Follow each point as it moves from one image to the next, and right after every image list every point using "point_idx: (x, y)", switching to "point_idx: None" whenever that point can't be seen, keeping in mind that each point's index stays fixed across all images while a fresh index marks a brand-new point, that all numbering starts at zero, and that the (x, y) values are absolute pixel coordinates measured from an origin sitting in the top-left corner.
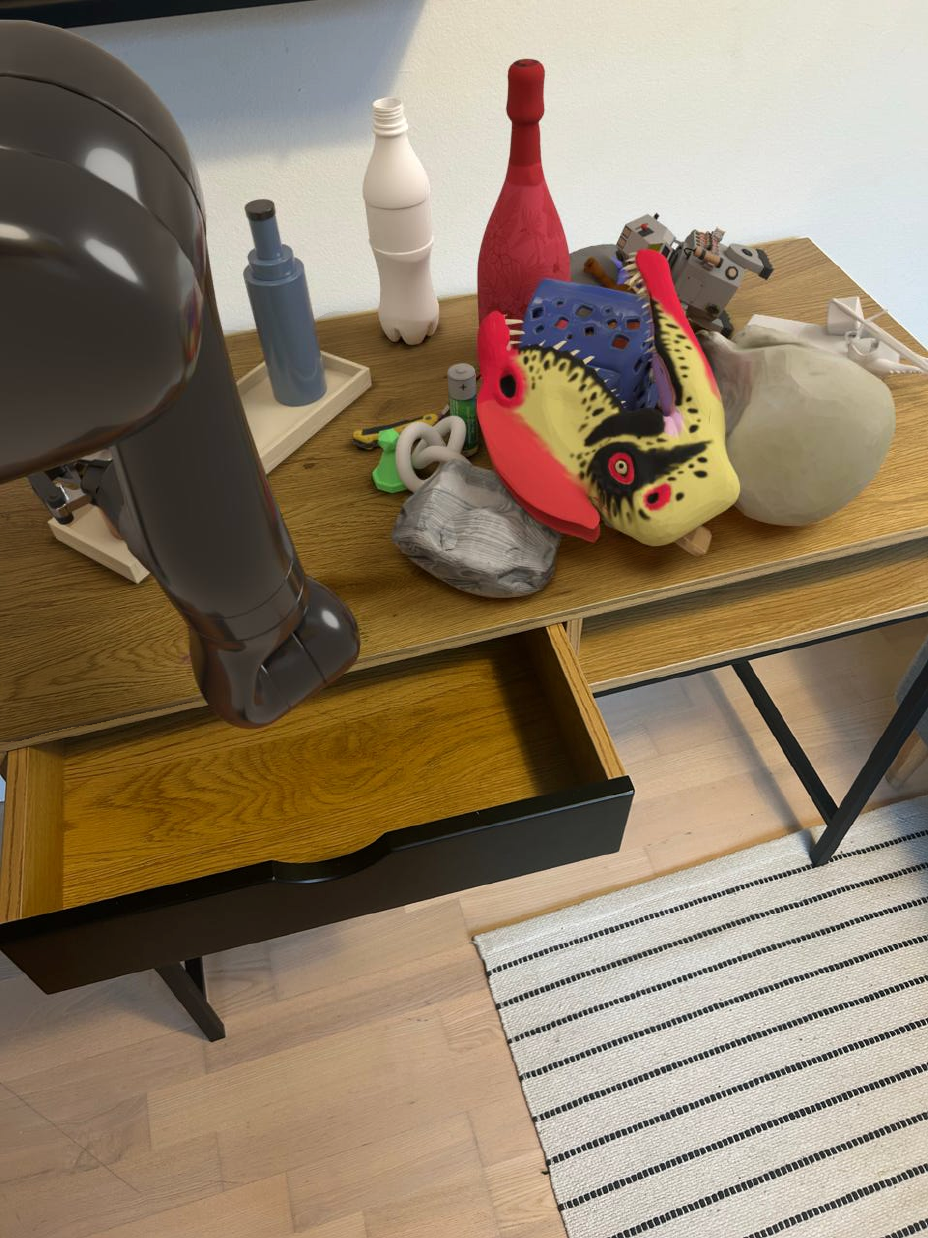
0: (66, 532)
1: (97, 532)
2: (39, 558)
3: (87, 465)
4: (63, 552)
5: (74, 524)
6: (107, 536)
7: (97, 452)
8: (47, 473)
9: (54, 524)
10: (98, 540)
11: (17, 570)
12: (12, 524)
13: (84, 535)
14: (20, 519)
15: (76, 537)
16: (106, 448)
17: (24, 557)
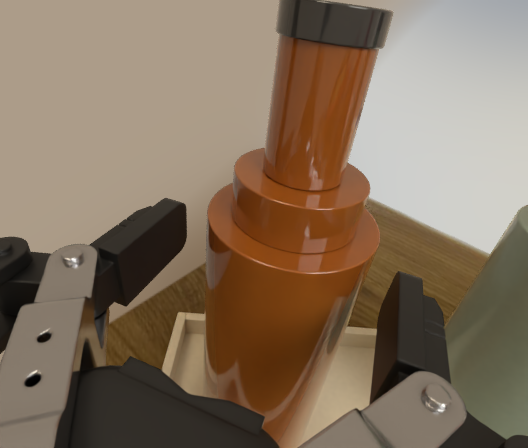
0: (168, 346)
1: (202, 374)
2: (141, 336)
3: (205, 320)
4: (160, 355)
5: (202, 337)
6: (201, 394)
7: (48, 404)
8: (28, 297)
9: (176, 322)
10: (188, 388)
11: (113, 328)
12: (182, 278)
13: (190, 362)
14: (192, 280)
15: (163, 365)
16: (134, 394)
17: (137, 320)
